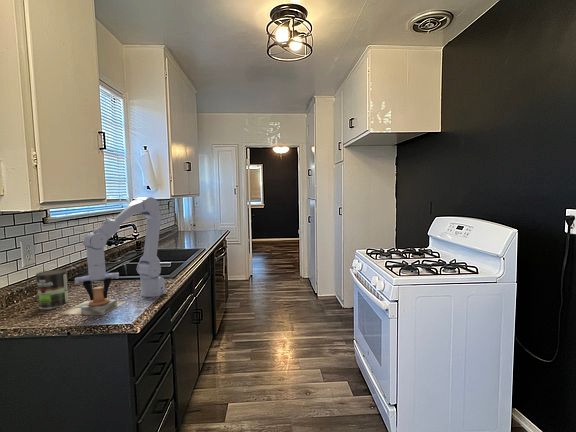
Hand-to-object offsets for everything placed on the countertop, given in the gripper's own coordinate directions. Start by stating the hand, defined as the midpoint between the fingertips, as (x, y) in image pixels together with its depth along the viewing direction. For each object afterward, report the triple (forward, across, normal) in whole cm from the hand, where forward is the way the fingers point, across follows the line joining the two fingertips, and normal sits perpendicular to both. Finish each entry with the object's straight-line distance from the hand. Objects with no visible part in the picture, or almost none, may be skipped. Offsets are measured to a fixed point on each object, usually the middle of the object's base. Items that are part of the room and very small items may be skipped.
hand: (99, 298), depth 124 cm
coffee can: (+6, +18, -20) cm, 28 cm away
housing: (+6, +2, -4) cm, 7 cm away
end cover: (+4, 0, 0) cm, 4 cm away
